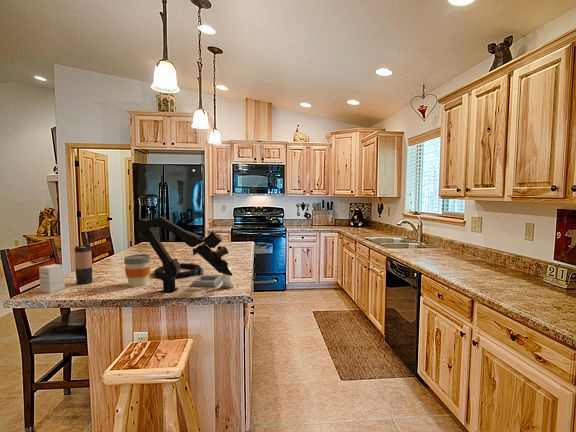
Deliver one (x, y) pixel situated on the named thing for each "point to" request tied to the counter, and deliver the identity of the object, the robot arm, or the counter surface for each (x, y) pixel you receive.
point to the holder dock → (207, 281)
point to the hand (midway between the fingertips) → (229, 273)
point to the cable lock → (196, 271)
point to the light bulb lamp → (227, 281)
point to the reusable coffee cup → (137, 269)
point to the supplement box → (51, 278)
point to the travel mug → (83, 264)
